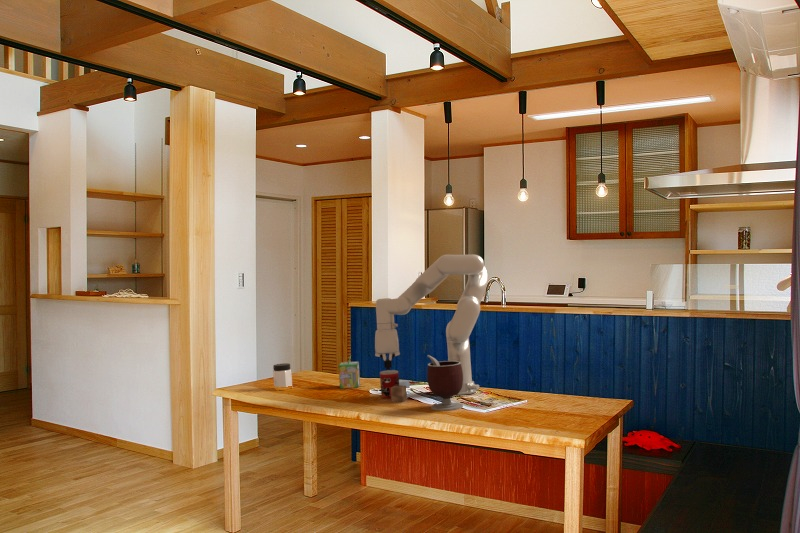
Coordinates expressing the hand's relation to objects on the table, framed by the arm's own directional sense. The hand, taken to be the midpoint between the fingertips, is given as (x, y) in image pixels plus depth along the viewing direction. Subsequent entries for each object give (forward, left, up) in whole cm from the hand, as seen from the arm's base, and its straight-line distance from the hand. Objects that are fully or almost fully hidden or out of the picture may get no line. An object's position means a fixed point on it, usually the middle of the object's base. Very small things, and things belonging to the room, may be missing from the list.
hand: (388, 369), depth 289 cm
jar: (+66, +4, -12) cm, 67 cm away
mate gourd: (-35, +8, -12) cm, 38 cm away
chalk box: (+36, -12, -12) cm, 40 cm away
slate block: (+3, -10, -12) cm, 16 cm away
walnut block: (-10, +5, -12) cm, 16 cm away
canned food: (0, 0, -12) cm, 12 cm away
